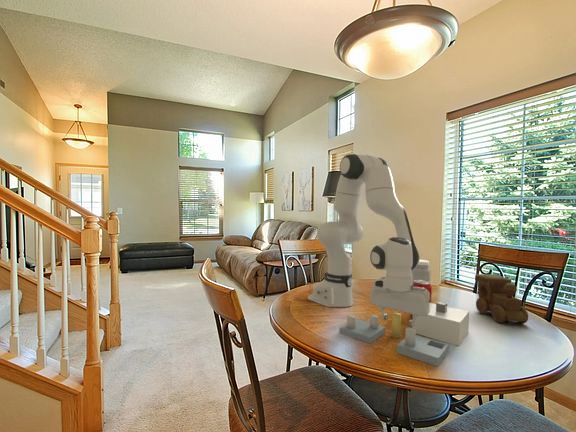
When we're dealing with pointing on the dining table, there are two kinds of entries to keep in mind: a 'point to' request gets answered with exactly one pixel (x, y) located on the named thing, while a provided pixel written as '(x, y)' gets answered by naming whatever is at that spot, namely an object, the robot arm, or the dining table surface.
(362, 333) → the board
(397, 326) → the peg
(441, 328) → the cover
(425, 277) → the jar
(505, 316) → the wooden toy train
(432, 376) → the dining table surface
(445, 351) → the board
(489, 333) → the dining table surface
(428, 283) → the soda can
